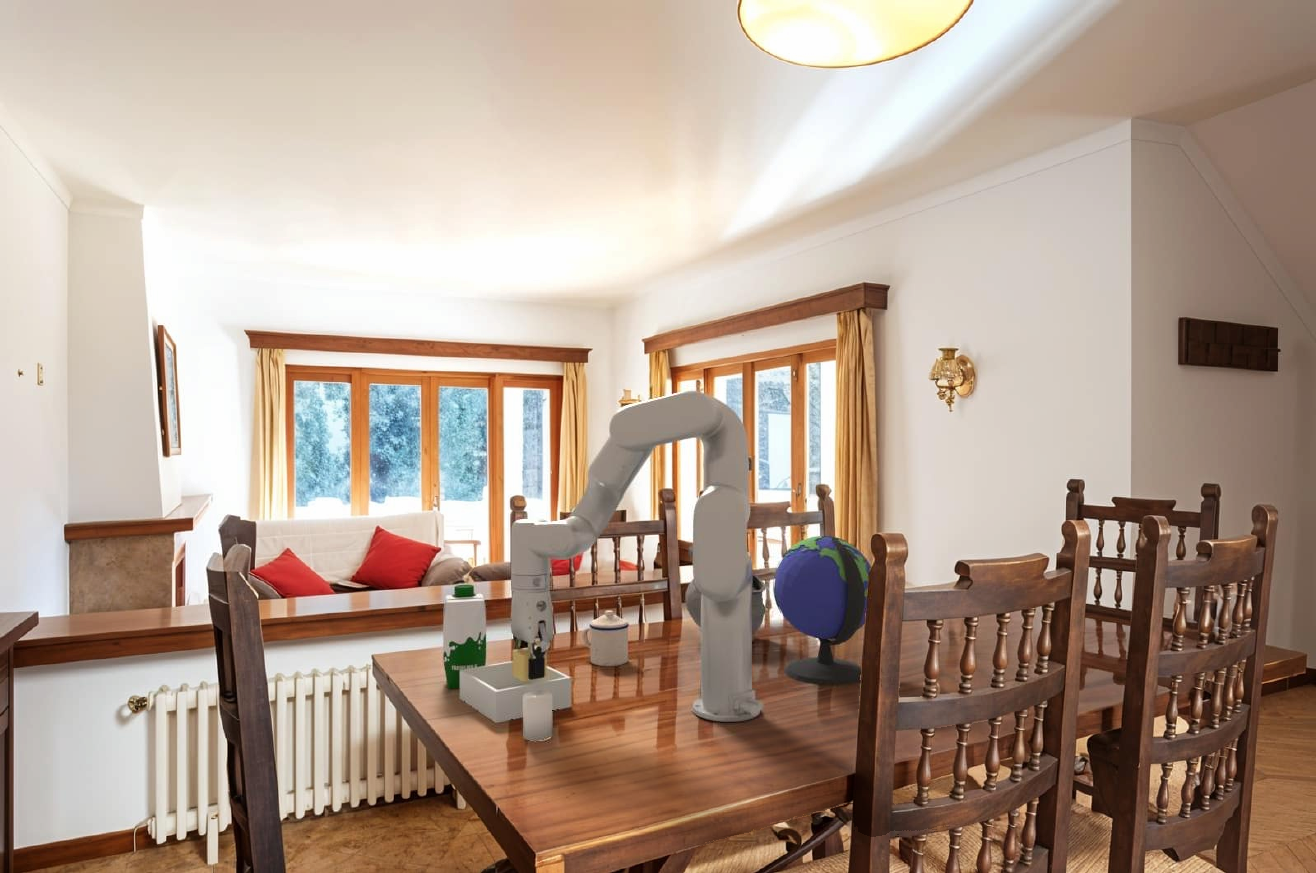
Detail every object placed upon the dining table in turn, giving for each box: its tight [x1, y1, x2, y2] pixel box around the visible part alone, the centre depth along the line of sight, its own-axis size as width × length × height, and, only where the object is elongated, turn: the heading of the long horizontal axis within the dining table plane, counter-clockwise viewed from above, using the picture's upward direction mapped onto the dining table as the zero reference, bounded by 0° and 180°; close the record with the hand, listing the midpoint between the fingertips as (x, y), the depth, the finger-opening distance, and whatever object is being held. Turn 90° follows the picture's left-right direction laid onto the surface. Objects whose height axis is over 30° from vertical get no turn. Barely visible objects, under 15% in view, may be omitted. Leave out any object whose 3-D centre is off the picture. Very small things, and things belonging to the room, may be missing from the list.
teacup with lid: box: [582, 609, 630, 667], centre depth 186 cm, size 12×9×12 cm
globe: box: [772, 535, 872, 686], centre depth 176 cm, size 22×22×30 cm
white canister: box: [522, 691, 554, 741], centre depth 138 cm, size 5×5×7 cm
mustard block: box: [511, 645, 548, 682], centre depth 158 cm, size 5×5×5 cm
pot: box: [684, 544, 767, 642], centre depth 205 cm, size 21×21×25 cm
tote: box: [459, 660, 572, 724], centre depth 156 cm, size 17×15×6 cm
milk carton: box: [442, 584, 487, 690], centre depth 169 cm, size 9×9×20 cm
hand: (529, 673), depth 158 cm, fingers closed on mustard block, 5 cm apart
